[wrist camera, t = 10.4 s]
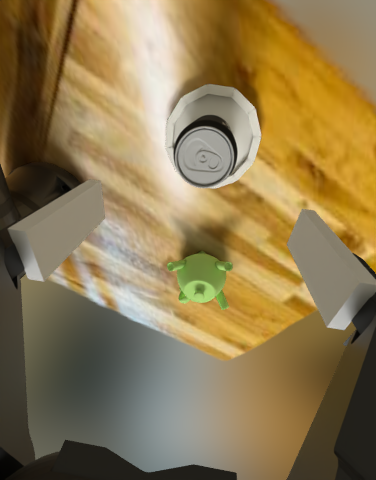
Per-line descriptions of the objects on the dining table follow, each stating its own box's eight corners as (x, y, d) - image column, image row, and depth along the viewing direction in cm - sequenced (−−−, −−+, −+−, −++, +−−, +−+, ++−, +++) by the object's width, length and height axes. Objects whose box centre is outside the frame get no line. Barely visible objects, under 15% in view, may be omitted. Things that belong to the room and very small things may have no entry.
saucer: (165, 177, 35) (162, 179, 34) (172, 78, 28) (169, 77, 27) (243, 190, 35) (244, 193, 33) (271, 94, 28) (273, 93, 26)
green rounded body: (177, 284, 48) (169, 315, 41) (172, 241, 42) (163, 269, 35) (228, 287, 47) (229, 320, 40) (231, 243, 41) (233, 272, 33)
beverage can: (196, 106, 29) (183, 108, 19) (241, 126, 29) (251, 138, 19) (180, 154, 32) (162, 177, 22) (220, 171, 33) (220, 201, 23)
